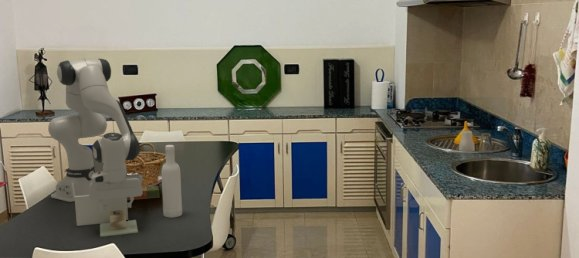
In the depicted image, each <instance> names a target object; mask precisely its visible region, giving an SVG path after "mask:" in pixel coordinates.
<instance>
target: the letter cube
mask: <svg viewBox="0 0 579 258" xmlns="http://www.w3.org/2000/svg"><path fill="white" fill-rule="evenodd" d="M109 223H110V225H111V231H113V230H122V229H127V224H126V212H125V210H118V211H110V222H109Z"/></svg>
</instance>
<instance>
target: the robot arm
mask: <svg viewBox="0 0 579 258" xmlns="http://www.w3.org/2000/svg"><path fill="white" fill-rule="evenodd" d="M56 69H57V70H56V75H57V79H58V80H59V83H61V84H62V85H64V86H65V104H66V107H67V108H69V110H71V111H74V113H75V112H76V113H78V114H74V115H73V114H72V115H61V116H58V117H55V118H52V119H51V120H50V121H49V123H48V126H47V127H48V133H49V135H50V137H51V138H52V139H54V140H55V141H57V142H58V143H60V144H61V145H62V147H63V149H65V150H64V151H65V153H66V156H67V163H68V165H67V166H68V168H66V169H64V173H66V175H65V176H64V177H62V179H61V180H59V181H58V182H57V183H56V184H55V191H54V192H53V193H51V195H50V198H51V199H57V200H61V201H64V202H68V203H71V202H72V203H73V202H75V196H82V195H89V199H90V200H99V203H100V204H101V206H102V208H103V210H106V205H104V204H103V200H104V199H115V198H126V197H130V200H129V202H127V209H130V208H131V209H132V203H133V202H134V200H135V199H134V197H137V196H141V195H142V194H143V191H142V187H143V185H142V183H143V181H144V178H143V177H144V176H143V175H142V174H140V173H139V172H135V173H127V172H128V171H127V164H126V161H134V160H135V159H136V158H137V157H138V156H139V155H140V152H141V145H140V142H139V140H138V138H137V137H136V134H135V133H134V131H133V129H132V126H131V124H130V122H129V120H128V119H129V118H128V117H127V115H126V112H125V110H124V108H123V106H122V103H121V102H120V101H119V100H117V99H115V98H114V97H113V96H112V94H111V92H110V91H109V86H108V84H107V83H108V81H109V80H110V79H111V77H112V68H111V65H110V62H109V61H108V60H107V59H104V58H81V59H80V58H79V59H73V60H72V59H71V60H63V61H60V62H59V63H58V65H57V68H56ZM103 115H104V116H108V117H110V118H111V119H113V120H114V121H115V123H116V126H117V128H118V130H119V132H120V133H118V132H107V131H106V130H107V127H108V122H107V120H106V118H105V117H104V116H103ZM104 133H105V134H104ZM101 135H102V138H100V139H97V140H95V141H94V143H93V144H92V146H91V148H90V147H89V146H86V145H84V144H82V143H80V142H79V140H80V139H86V138H95V137H98V136H101ZM94 161H96V162H98V163H101V164H102V163H103V166H102V170H100V171H97V172H96V167H95V165H94V164H95V163H94Z"/></svg>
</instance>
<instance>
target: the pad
mask: <svg viewBox="0 0 579 258" xmlns="http://www.w3.org/2000/svg"><path fill="white" fill-rule="evenodd" d="M126 224H127V229H122V230H113V231H111V225H110V222H109V223H100V224H99V237H101V238H102V237H109V236H119V235H127V234H128V235H129V234H137V233H139V230H138V225H137V224H138V223H137V220H136V219H133V220H132V219H131V220H128V221H126Z"/></svg>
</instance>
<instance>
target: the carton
mask: <svg viewBox="0 0 579 258" xmlns="http://www.w3.org/2000/svg"><path fill="white" fill-rule="evenodd" d="M142 191H143V194H142V195H141V196H137V197H134V200H143V199H144V200H145V199H156V198H158V199H159V198H160V195H161V194H160V189H159V185H148V186H147V185H146V186H142ZM127 201H130V197H127Z"/></svg>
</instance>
